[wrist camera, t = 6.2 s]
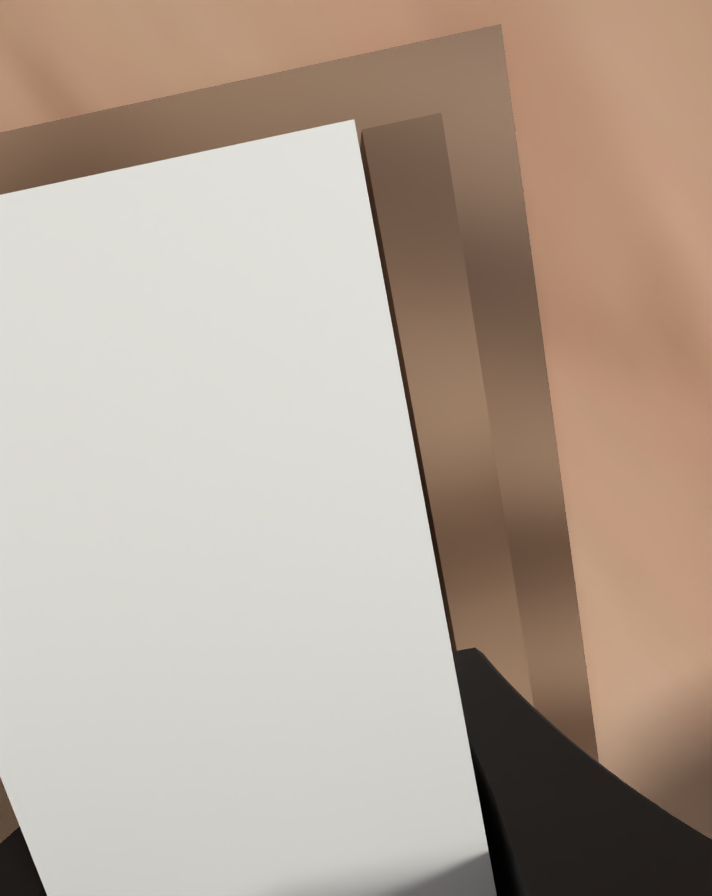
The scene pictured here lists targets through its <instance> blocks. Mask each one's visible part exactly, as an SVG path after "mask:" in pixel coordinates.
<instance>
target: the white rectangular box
mask: <svg viewBox="0 0 712 896" xmlns="http://www.w3.org/2000/svg"><path fill="white" fill-rule="evenodd" d="M0 777H1V780H2V782H3V785H4V787H5V790H6V793H7V795H8V798H9V800H10V803H11V805H12V808H13V810H14V813H15V815H16V818H17V820H18V823H19V825H20V828H21V831H22V833H23V836H24V838H25V841H26V843H27V846H28V848H29V851H30V853H31V856H32V858H33V861H34V863H35V866H36V868H37V871H38V874H39V876H40V879H41V881H42V884H43V886H44V889H45V891H46V894H47V896H497V894H496V888H495V883H494V878H493V872H492V867H491V861H490V856H489V850H488V845H487V839H486V834H485V829H484V823H483V818H482V812H481V807H480V801H479V796H478V790H477V785H476V780H475V774H474V769H473V763H472V758H471V752H470V747H469V741H468V736H467V731H466V725H465V720H464V714H463V709H462V703H461V698H460V692H459V687H458V682H457V676H456V671H455V665H454V660H453V654H452V649H451V643H450V638H449V633H448V627H447V622H446V616H445V611H444V605H443V600H442V594H441V589H440V584H439V578H438V573H437V567H436V562H435V556H434V551H433V545H432V540H431V535H430V529H429V524H428V518H427V513H426V507H425V502H424V496H423V491H422V486H421V480H420V475H419V469H418V464H417V458H416V453H415V447H414V442H413V437H412V431H411V426H410V420H409V415H408V409H407V404H406V398H405V393H404V388H403V382H402V377H401V371H400V366H399V360H398V355H397V349H396V344H395V339H394V333H393V328H392V322H391V317H390V311H389V306H388V300H387V295H386V290H385V284H384V279H383V273H382V268H381V262H380V257H379V251H378V246H377V241H376V235H375V230H374V224H373V219H372V213H371V208H370V202H369V197H368V192H367V186H366V181H365V175H364V170H363V164H362V159H361V153H360V148H359V143H358V137H357V132H356V126H355V121H354V119H353V120H348V121H343V122H339V123H334V124H329V125H325V126H320V127H315V128H311V129H306V130H301V131H297V132H292V133H287V134H282V135H278V136H273V137H268V138H264V139H259V140H254V141H250V142H245V143H240V144H236V145H231V146H226V147H222V148H217V149H212V150H208V151H203V152H198V153H194V154H189V155H184V156H180V157H175V158H170V159H166V160H161V161H156V162H152V163H147V164H142V165H138V166H133V167H128V168H124V169H119V170H114V171H109V172H105V173H100V174H95V175H91V176H86V177H81V178H77V179H72V180H67V181H63V182H58V183H53V184H49V185H44V186H39V187H35V188H30V189H25V190H21V191H16V192H11V193H7V194H2V195H0Z"/></svg>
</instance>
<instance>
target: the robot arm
mask: <svg viewBox="0 0 712 896" xmlns="http://www.w3.org/2000/svg"><path fill="white" fill-rule="evenodd" d="M452 654H453V660H454V665H455V671H456V676H457V682H458V687H459V692H460V698H461V703H462V709H463V714H464V720H465V725H466V731H467V736H468V741H469V747H470V752H471V758H472V763H473V769H474V774H475V780H476V785H477V790H478V796H479V801H480V807H481V812H482V818H483V823H484V829H485V834H486V839H487V845H488V850H489V856H490V861H491V867H492V872H493V878H494V883H495V888H496V894H497V896H712V840H711V839H710V838H708V837H706V836H704V835H703V834H701V833H699V832H698V831H696V830H695V829H693V828H691V827H690V826H688V825H687V824H685V823H683V822H682V821H680V820H679V819H677V818H675V817H674V816H672V815H671V814H669V813H668V812H666V811H665V810H664V809H662V808H661V807H659V806H658V805H656V804H655V803H653V802H652V801H650V800H649V799H647V798H646V797H644V796H643V795H641V794H640V793H638V792H637V791H636V790H634V789H633V788H632V787H630V786H629V785H627V784H626V783H625V782H623V781H622V780H621V779H619V778H618V777H617V776H615V775H614V774H613V773H611V772H610V771H609V770H607V769H606V768H605V767H603V766H602V765H601V764H600V763H598V762H597V761H596V760H595V759H593V758H592V757H591V756H590V755H588V754H587V753H586V752H585V751H583V750H582V749H581V748H580V747H578V746H577V745H576V744H575V743H574V742H572V741H571V740H570V739H569V738H568V737H567V736H565V735H564V734H563V733H562V732H561V731H560V730H558V729H557V728H556V727H555V726H554V725H553V724H552V723H551V722H550V721H549V720H547V719H546V718H545V717H544V716H543V715H542V714H541V713H540V712H539V711H537V710H536V709H535V708H534V707H533V706H532V705H531V704H530V703H529V702H528V701H527V700H526V699H525V698H524V697H523V696H522V695H521V694H520V693H519V692H518V691H517V690H516V689H515V688H514V687H513V686H512V685H511V684H510V683H509V682H508V681H507V680H506V679H505V678H504V677H503V676H502V675H501V674H500V672H499V671H498V670H497V669H496V668H495V667H494V666H493V665H492V663H491V662H490V661H489V660H488V659H487V657H486V656H485V655H484V653H482V652H481V651H479V650H478V649H476V648H475V647H474V648H469V649H464V650H458V651H453V652H452ZM0 896H47V894H46V891H45V889H44V886H43V884H42V881H41V879H40V876H39V874H38V871H37V868H36V866H35V863H34V861H33V858H32V856H31V853H30V851H29V848H28V846H27V843H26V841H25V838H24V836H23V833H22V831H21V828H20V826H19V827H18V828H17V829H16V830H15V831H14V832H13V833H12V834H11V835H10V836H8V837H7V838H6V839H5V840H4V841H3V842H2V843H1V844H0Z"/></svg>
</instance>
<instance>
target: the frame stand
mask: <svg viewBox="0 0 712 896" xmlns="http://www.w3.org/2000/svg"><path fill="white" fill-rule="evenodd" d="M353 119H354V121H355V126H356V132H357V137H358V143H359V148H360V153H361V159H362V164H363V170H364V175H365V181H366V186H367V192H368V197H369V202H370V208H371V213H372V219H373V224H374V230H375V235H376V241H377V246H378V251H379V257H380V262H381V268H382V273H383V279H384V284H385V290H386V295H387V300H388V306H389V311H390V317H391V322H392V328H393V333H394V339H395V344H396V349H397V355H398V360H399V366H400V371H401V377H402V382H403V388H404V393H405V398H406V404H407V409H408V415H409V420H410V426H411V431H412V437H413V442H414V447H415V453H416V458H417V464H418V469H419V475H420V480H421V486H422V491H423V496H424V502H425V507H426V513H427V518H428V524H429V529H430V535H431V540H432V545H433V551H434V556H435V562H436V567H437V573H438V578H439V584H440V589H441V594H442V600H443V605H444V611H445V616H446V622H447V627H448V633H449V638H450V643H451V649H452V652H453V651H458V650H464V649H469V648H474V647H475V648H476V649H478V650H479V651H481V652H482V653H484V655H485V656H486V657H487V659H488V660H489V661H490V662H491V663H492V665H493V666H494V667H495V668H496V669H497V670H498V671H499V672H500V674H501V675H502V676H503V677H504V678H505V679H506V680H507V681H508V682H509V683H510V684H511V685H512V686H513V687H514V688H515V689H516V690H517V691H518V692H519V693H520V694H521V695H522V696H523V697H524V698H525V699H526V700H527V701H528V702H529V703H530V704H531V705H532V706H533V707H534V708H535V709H536V710H537V711H539V712H540V713H541V714H542V715H543V716H544V717H545V718H546V719H547V720H549V721H550V722H551V723H552V724H553V725H554V726H555V727H556V728H557V729H558V730H560V731H561V732H562V733H563V734H564V735H565V736H567V737H568V738H569V739H570V740H571V741H572V742H574V743H575V744H576V745H577V746H578V747H580V748H581V749H582V750H583V751H585V752H586V753H587V754H588V755H590V756H591V757H592V758H593V759H595V760H596V761H597V762H598V763H599V761H598V753H597V746H596V738H595V731H594V723H593V716H592V708H591V700H590V693H589V685H588V678H587V670H586V663H585V655H584V648H583V640H582V632H581V625H580V617H579V610H578V602H577V595H576V587H575V580H574V572H573V564H572V557H571V549H570V542H569V534H568V527H567V519H566V512H565V504H564V496H563V489H562V481H561V474H560V466H559V459H558V451H557V444H556V436H555V428H554V421H553V413H552V406H551V398H550V391H549V383H548V376H547V368H546V360H545V353H544V345H543V338H542V330H541V323H540V315H539V308H538V300H537V292H536V285H535V277H534V270H533V262H532V255H531V247H530V240H529V232H528V224H527V217H526V209H525V202H524V194H523V187H522V179H521V172H520V164H519V156H518V149H517V141H516V134H515V126H514V119H513V111H512V104H511V96H510V88H509V81H508V73H507V66H506V58H505V51H504V43H503V36H502V28H501V24H500V25H495V26H491V27H486V28H482V29H477V30H472V31H468V32H463V33H458V34H454V35H449V36H445V37H440V38H435V39H431V40H426V41H421V42H417V43H412V44H408V45H403V46H398V47H394V48H389V49H385V50H380V51H375V52H371V53H366V54H361V55H357V56H352V57H348V58H343V59H338V60H334V61H329V62H324V63H320V64H315V65H311V66H306V67H301V68H297V69H292V70H288V71H283V72H278V73H274V74H269V75H264V76H260V77H255V78H251V79H246V80H241V81H237V82H232V83H227V84H223V85H218V86H214V87H209V88H204V89H200V90H195V91H191V92H186V93H181V94H177V95H172V96H167V97H163V98H158V99H154V100H149V101H144V102H140V103H135V104H131V105H126V106H121V107H117V108H112V109H107V110H103V111H98V112H94V113H89V114H84V115H80V116H75V117H70V118H66V119H61V120H57V121H52V122H47V123H43V124H38V125H34V126H29V127H24V128H20V129H15V130H10V131H6V132H1V133H0V195H2V194H7V193H11V192H16V191H21V190H25V189H30V188H35V187H39V186H44V185H49V184H53V183H58V182H63V181H67V180H72V179H77V178H81V177H86V176H91V175H95V174H100V173H105V172H109V171H114V170H119V169H124V168H128V167H133V166H138V165H142V164H147V163H152V162H156V161H161V160H166V159H170V158H175V157H180V156H184V155H189V154H194V153H198V152H203V151H208V150H212V149H217V148H222V147H226V146H231V145H236V144H240V143H245V142H250V141H254V140H259V139H264V138H268V137H273V136H278V135H282V134H287V133H292V132H297V131H301V130H306V129H311V128H315V127H320V126H325V125H329V124H334V123H339V122H343V121H348V120H353Z"/></svg>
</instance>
